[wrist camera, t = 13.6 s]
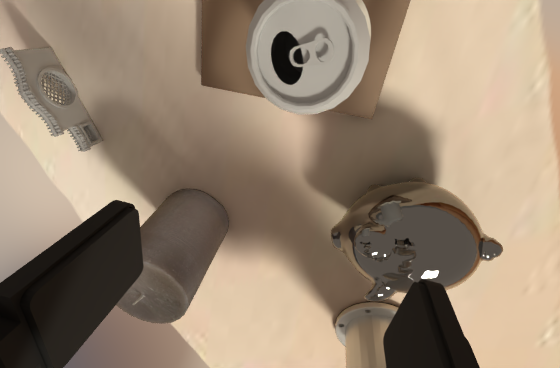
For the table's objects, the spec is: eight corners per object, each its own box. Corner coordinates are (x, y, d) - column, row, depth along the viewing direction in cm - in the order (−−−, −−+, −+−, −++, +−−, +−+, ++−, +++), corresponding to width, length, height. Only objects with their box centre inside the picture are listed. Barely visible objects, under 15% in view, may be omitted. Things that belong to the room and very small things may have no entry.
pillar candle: (175, 241, 44) (111, 331, 32) (157, 187, 40) (72, 266, 27) (235, 243, 43) (192, 340, 30) (223, 187, 38) (166, 272, 25)
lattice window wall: (106, 141, 38) (70, 160, 33) (95, 143, 38) (58, 162, 33) (52, 43, 32) (-1, 47, 27) (40, 47, 33) (-14, 52, 28)
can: (268, 7, 25) (220, -4, 15) (354, -18, 23) (367, -49, 13) (285, 92, 29) (256, 131, 18) (362, 77, 27) (378, 111, 16)
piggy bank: (324, 173, 34) (318, 234, 24) (465, 152, 30) (527, 215, 20) (339, 244, 39) (339, 319, 29) (462, 235, 35) (511, 318, 25)
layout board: (415, -25, 24) (420, -28, 22) (370, 114, 30) (372, 119, 28) (209, -57, 25) (201, -62, 24) (207, 82, 31) (200, 85, 30)
